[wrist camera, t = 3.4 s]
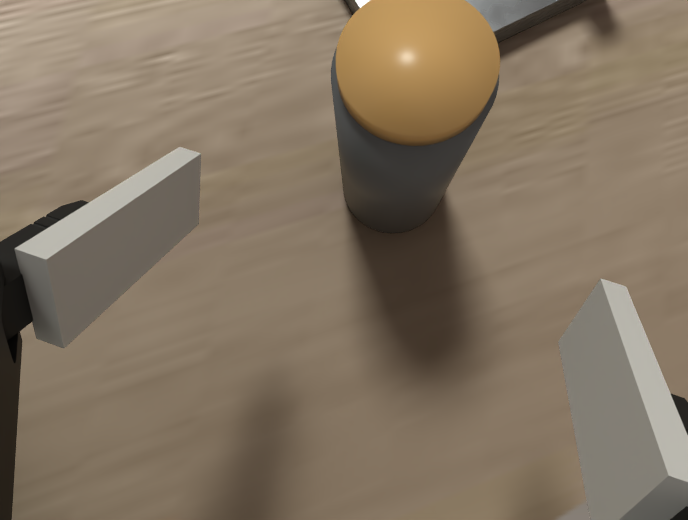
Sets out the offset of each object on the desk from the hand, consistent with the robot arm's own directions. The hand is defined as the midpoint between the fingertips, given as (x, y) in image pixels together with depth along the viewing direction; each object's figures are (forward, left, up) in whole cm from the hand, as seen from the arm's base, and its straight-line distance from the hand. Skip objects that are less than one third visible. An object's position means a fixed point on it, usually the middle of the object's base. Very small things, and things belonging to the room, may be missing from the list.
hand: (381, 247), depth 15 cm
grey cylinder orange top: (-5, +4, -11) cm, 12 cm away
